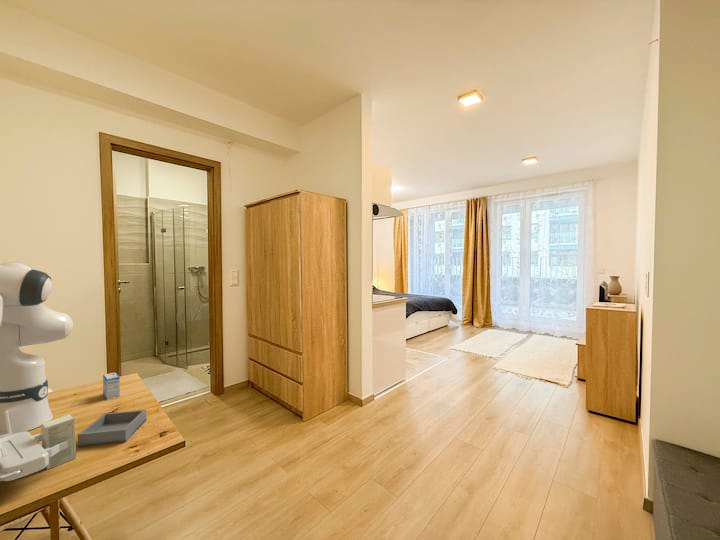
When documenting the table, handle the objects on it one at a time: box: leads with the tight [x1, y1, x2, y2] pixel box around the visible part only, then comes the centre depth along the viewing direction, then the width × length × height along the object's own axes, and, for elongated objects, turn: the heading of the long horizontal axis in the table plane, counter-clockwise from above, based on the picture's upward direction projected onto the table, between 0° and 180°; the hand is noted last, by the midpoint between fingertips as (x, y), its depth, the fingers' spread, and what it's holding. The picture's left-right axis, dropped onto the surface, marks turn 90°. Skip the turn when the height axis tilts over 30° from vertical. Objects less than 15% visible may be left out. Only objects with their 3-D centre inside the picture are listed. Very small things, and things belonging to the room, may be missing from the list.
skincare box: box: [40, 413, 77, 471], centre depth 84 cm, size 6×4×12 cm
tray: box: [77, 409, 147, 448], centre depth 98 cm, size 13×13×4 cm
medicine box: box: [102, 372, 121, 400], centre depth 126 cm, size 8×4×9 cm, turn 50°
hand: (61, 438), depth 85 cm, fingers open, 8 cm apart
